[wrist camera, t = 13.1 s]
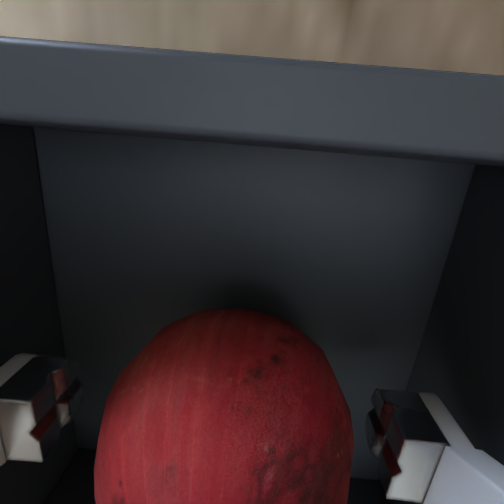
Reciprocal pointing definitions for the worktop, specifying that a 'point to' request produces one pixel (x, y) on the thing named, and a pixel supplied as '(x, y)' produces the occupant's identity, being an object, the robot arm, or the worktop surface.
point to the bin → (250, 226)
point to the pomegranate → (226, 418)
